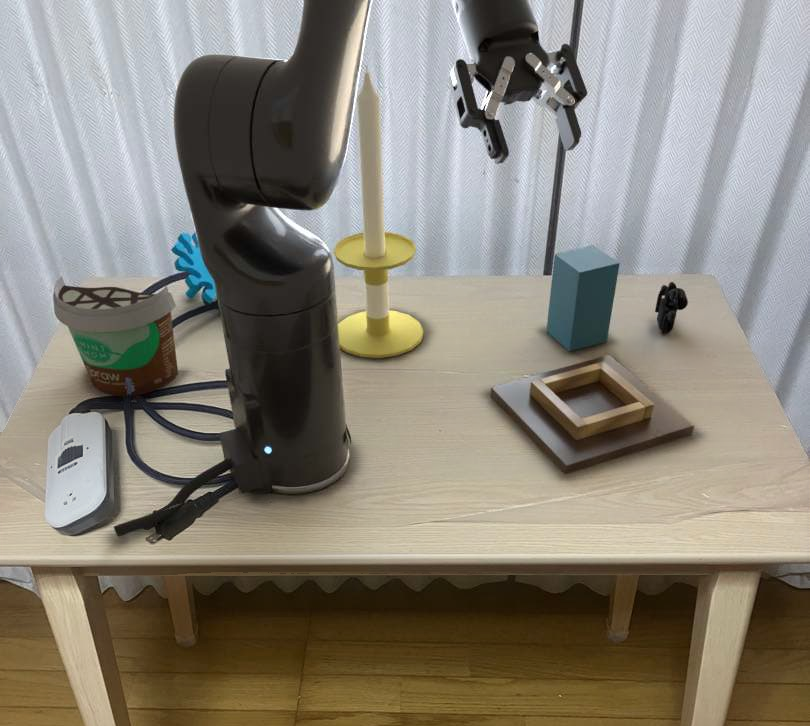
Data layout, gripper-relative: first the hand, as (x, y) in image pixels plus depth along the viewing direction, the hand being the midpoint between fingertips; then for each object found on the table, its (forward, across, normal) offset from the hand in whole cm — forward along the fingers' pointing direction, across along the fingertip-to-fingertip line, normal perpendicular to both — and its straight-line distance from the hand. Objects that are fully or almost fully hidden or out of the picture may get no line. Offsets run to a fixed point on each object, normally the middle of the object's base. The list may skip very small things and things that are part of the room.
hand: (538, 153), depth 91 cm
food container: (+11, -47, +12) cm, 50 cm away
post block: (+19, 0, +4) cm, 19 cm away
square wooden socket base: (+28, -7, -6) cm, 30 cm away
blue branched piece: (+1, -33, +22) cm, 40 cm away
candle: (+12, -19, +11) cm, 25 cm away
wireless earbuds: (+21, +10, +2) cm, 24 cm away
